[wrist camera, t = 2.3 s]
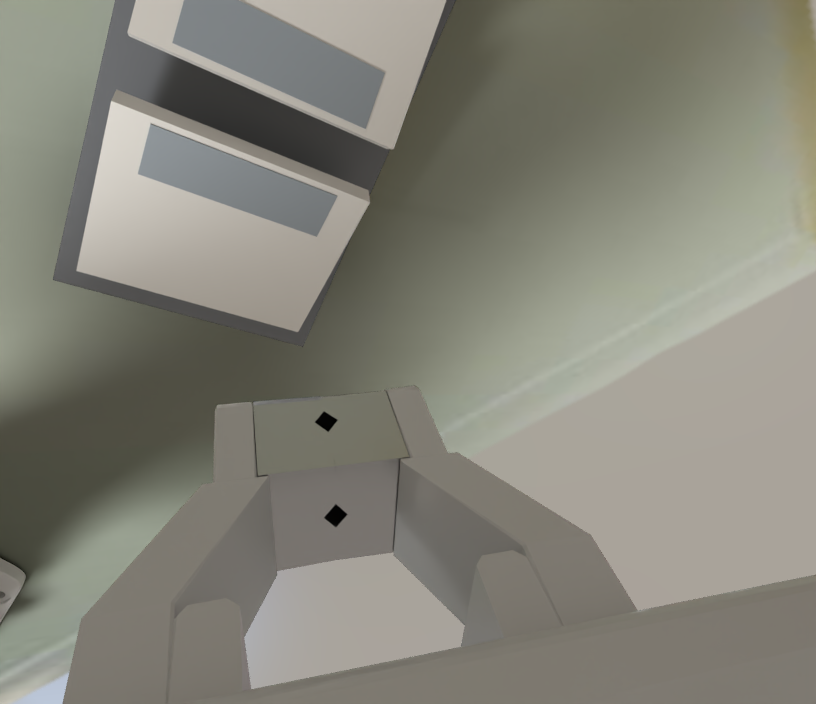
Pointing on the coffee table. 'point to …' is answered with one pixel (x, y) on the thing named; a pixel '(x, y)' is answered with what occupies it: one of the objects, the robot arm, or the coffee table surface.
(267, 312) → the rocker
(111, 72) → the switch console
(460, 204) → the coffee table surface
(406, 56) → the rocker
